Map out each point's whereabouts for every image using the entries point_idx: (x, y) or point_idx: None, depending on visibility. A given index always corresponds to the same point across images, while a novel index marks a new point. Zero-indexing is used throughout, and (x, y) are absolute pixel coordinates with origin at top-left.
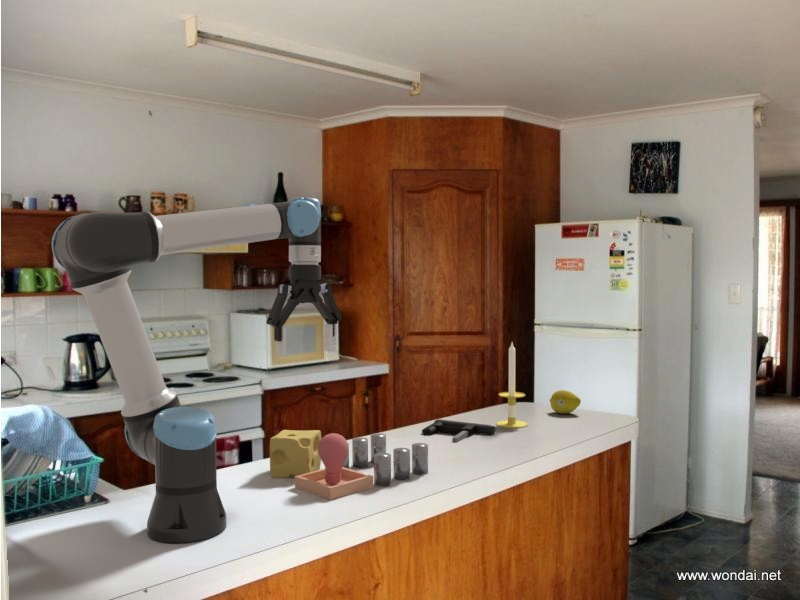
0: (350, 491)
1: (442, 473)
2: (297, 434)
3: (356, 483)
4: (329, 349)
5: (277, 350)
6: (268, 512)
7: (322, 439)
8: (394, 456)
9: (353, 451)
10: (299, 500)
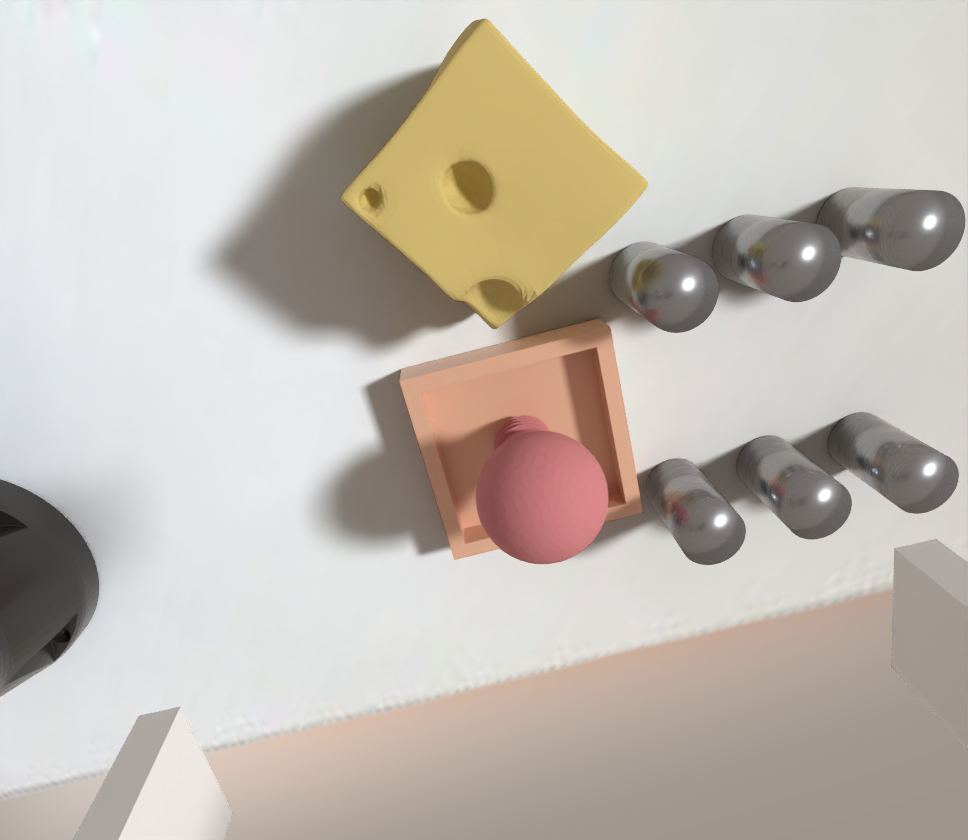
0: None
1: None
2: (504, 193)
3: None
4: (906, 670)
5: (119, 778)
6: (241, 550)
7: (498, 512)
8: (775, 500)
9: (741, 259)
10: (364, 499)
